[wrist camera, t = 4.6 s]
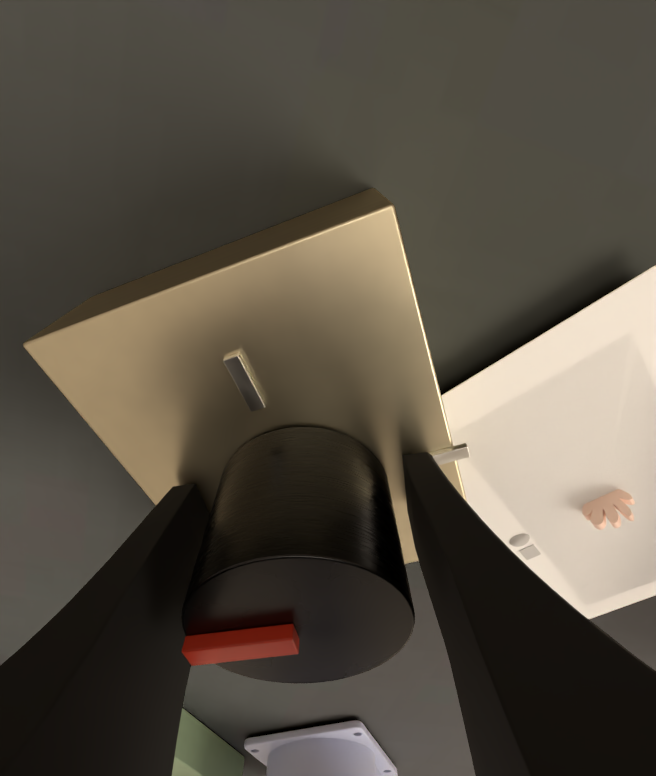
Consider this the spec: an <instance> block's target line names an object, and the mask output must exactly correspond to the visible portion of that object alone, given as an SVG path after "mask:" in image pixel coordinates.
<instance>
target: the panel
mask: <svg viewBox="0 0 656 776" xmlns="http://www.w3.org/2000/svg"><path fill="white" fill-rule="evenodd" d="M23 347H24V348H25V349H26V350H27V352H28V353H29V354H30V355H31V356H32V358H33V359H34V360H35V361H36V362H37V364H38V365H39V366H40V367H41V368H42V370H43V371H44V372H45V373H46V374H47V376H48V377H49V378H50V379H51V380H52V382H53V383H54V384H55V385H56V386H57V388H58V389H59V390H60V391H61V392H62V394H63V395H64V396H65V397H66V398H67V400H68V401H69V402H70V403H71V404H72V406H73V407H74V408H75V409H76V410H77V412H78V413H79V414H80V415H81V416H82V418H83V419H84V420H85V421H86V422H87V424H88V425H89V426H90V427H91V428H92V430H93V431H94V432H95V433H96V434H97V436H98V437H99V438H100V439H101V440H102V442H103V443H104V444H105V445H106V446H107V448H108V449H109V450H110V451H111V452H112V454H113V455H114V456H115V457H116V458H117V460H118V461H119V462H120V463H121V464H122V466H123V467H124V468H125V469H126V470H127V472H128V473H129V474H130V475H131V476H132V478H133V479H134V480H135V481H136V483H137V484H138V485H139V486H140V487H141V489H142V490H143V491H144V492H145V493H146V495H147V496H148V497H149V498H150V499H151V501H152V502H153V503H154V504H155V505H157V504H158V503H159V502H160V500H161V499H162V498H163V497H164V496H165V495H166V494H167V493H168V491H169V490H170V489H171V488H172V487H173V486H180V485H188V484H196V486H197V488H198V490H199V492H200V494H201V496H202V499H203V501H204V503H205V505H206V507H207V509H208V511H209V514H210V513H211V510H212V506H213V503H214V499H215V496H216V493H217V489H218V486H219V482H220V479H221V476H222V473H223V470H224V468H225V466H226V464H227V463H228V461H229V459H230V458H231V457H232V456H233V455H234V453H235V452H236V451H237V450H239V449H240V448H241V447H242V446H243V445H244V444H246V443H248V442H249V441H251V440H252V439H254V438H256V437H258V436H260V435H263V434H265V433H268V432H271V431H274V430H279V429H284V428H291V427H316V428H323V429H328V430H333V431H336V432H339V433H342V434H345V435H347V436H349V437H351V438H353V439H355V440H357V441H358V442H360V443H361V444H363V445H364V446H365V447H367V448H368V449H369V450H370V451H371V452H372V453H373V454H374V455H375V456H376V457H377V458H378V460H379V461H380V463H381V464H382V466H383V468H384V470H385V472H386V475H387V479H388V483H389V488H390V493H391V498H392V503H393V508H394V513H395V518H396V523H397V528H398V533H399V538H400V543H401V548H402V553H403V558H404V563H405V564H406V563H411V562H415V561H419V560H418V556H417V553H416V550H415V545H414V540H413V536H412V531H411V526H410V521H409V516H408V511H407V501H406V490H405V479H404V468H403V457H402V455H407V454H414V453H422V452H428V453H429V454H431V455H432V457H433V458H434V460H435V461H436V463H437V464H438V466H439V467H440V469H441V470H442V471H443V473H444V474H445V475H446V477H447V478H448V479H449V481H450V482H451V483H452V485H453V486H454V487H455V488H456V490H457V491H458V492H459V493H460V495H461V496H462V497H463V498H464V499H465V501H466V502H467V499H466V495H465V491H464V487H463V483H462V479H461V475H460V470H459V466H458V462H457V460H460V459H464V458H468V457H470V454H469V450H468V446H467V444H466V443H463V444H459V445H456V446H453V442H452V438H451V434H450V430H449V426H448V421H447V417H446V413H445V409H444V405H443V401H442V397H441V393H440V389H439V385H438V381H437V377H436V372H435V368H434V364H433V360H432V356H431V352H430V348H429V344H428V340H427V336H426V332H425V328H424V323H423V319H422V315H421V311H420V307H419V303H418V299H417V295H416V291H415V287H414V283H413V279H412V274H411V270H410V266H409V262H408V258H407V254H406V250H405V246H404V242H403V238H402V234H401V230H400V226H399V221H398V217H397V213H396V209H395V206H394V204H393V203H392V202H390V201H389V200H388V199H387V198H386V197H384V196H383V195H382V194H381V193H380V192H378V191H377V190H376V189H375V188H370V189H368V190H365V191H363V192H360V193H358V194H355V195H352V196H350V197H347V198H345V199H342V200H340V201H337V202H334V203H332V204H329V205H327V206H324V207H322V208H319V209H316V210H314V211H311V212H309V213H306V214H304V215H301V216H298V217H296V218H293V219H291V220H288V221H285V222H283V223H280V224H278V225H275V226H273V227H270V228H267V229H265V230H262V231H260V232H257V233H255V234H252V235H249V236H247V237H244V238H242V239H239V240H237V241H234V242H231V243H229V244H226V245H224V246H221V247H219V248H216V249H213V250H211V251H208V252H206V253H203V254H201V255H198V256H195V257H193V258H190V259H188V260H185V261H183V262H180V263H177V264H175V265H172V266H170V267H167V268H164V269H162V270H159V271H157V272H154V273H152V274H149V275H146V276H144V277H141V278H139V279H136V280H134V281H131V282H128V283H126V284H123V285H121V286H118V287H116V288H113V289H110V290H108V291H105V292H103V293H100V294H98V295H95V296H92V297H90V298H89V299H87V300H86V301H85V302H83V303H82V304H80V305H79V306H77V307H76V308H74V309H73V310H71V311H70V312H68V313H67V314H65V315H64V316H62V317H61V318H59V319H58V320H56V321H55V322H53V323H52V324H50V325H49V326H47V327H46V328H45V329H43V330H42V331H40V332H39V333H37V334H36V335H34V336H33V337H31V338H30V339H28V340H27V341H25V342H24V343H23Z"/></svg>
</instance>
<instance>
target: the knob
mask: <svg viewBox="0 0 656 776" xmlns="http://www.w3.org/2000/svg"><path fill="white" fill-rule="evenodd" d="M181 619H182V627H183V630H184V633H185V635H186V637H185V640H184V644H183V647H182V653H183V655H184V656H185V658H186V659H187V660H188V662H189V663H190V664H191V665H192V666H195V665H204V664H213V663H214V664H216V665H218V666H220V667H222V668H224V669H226V670H229V671H231V672H234V673H237V674H240V675H243V676H247V677H251V678H255V679H260V680H265V681H272V682H281V683H316V682H326V681H333V680H338V679H343V678H347V677H351V676H354V675H358V674H361V673H363V672H366V671H369V670H371V669H373V668H375V667H377V666H379V665H381V664H383V663H384V662H386V661H388V660H389V659H391V658H392V657H393V656H395V655H396V654H397V653H398V652H399V651H400V650H401V649H402V648H403V647H404V646H405V644H406V643H407V642H408V640H409V638H410V636H411V634H412V631H413V627H414V623H415V613H414V608H413V603H412V598H411V593H410V588H409V583H408V578H407V573H406V568H405V563H404V558H403V553H402V548H401V543H400V538H399V533H398V528H397V523H396V518H395V513H394V508H393V503H392V498H391V493H390V488H389V483H388V479H387V475H386V472H385V470H384V468H383V466H382V464H381V463H380V461H379V460H378V458H377V457H376V456H375V455H374V454H373V453H372V452H371V451H370V450H369V449H368V448H367V447H365V446H364V445H363V444H361V443H360V442H358V441H357V440H355V439H353V438H351V437H349V436H347V435H345V434H342V433H339V432H336V431H333V430H328V429H323V428H316V427H291V428H284V429H279V430H274V431H271V432H268V433H265V434H263V435H260V436H258V437H256V438H254V439H252V440H251V441H249V442H248V443H246V444H244V445H243V446H242V447H241V448H240V449H239V450H237V451H236V452H235V453H234V455H233V456H232V457H231V458H230V459H229V461H228V463H227V464H226V466H225V468H224V470H223V473H222V476H221V479H220V482H219V486H218V489H217V493H216V496H215V499H214V503H213V506H212V510H211V513H210V516H209V520H208V523H207V526H206V530H205V533H204V537H203V540H202V543H201V547H200V550H199V553H198V557H197V560H196V564H195V567H194V570H193V574H192V577H191V580H190V584H189V587H188V591H187V594H186V597H185V601H184V604H183V608H182V614H181Z"/></svg>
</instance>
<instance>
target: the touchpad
mask: <svg viewBox="0 0 656 776" xmlns="http://www.w3.org/2000/svg"><path fill="white" fill-rule="evenodd" d="M441 397H442V401H443V405H444V409H445V413H446V417H447V421H448V426H449V430H450V434H451V438H452V442H453V446H456V445H459V444H463V443H466V444H467V446H468V450H469V454H470V457H468V458H464V459H460V460H457V462H458V466H459V470H460V475H461V479H462V483H463V487H464V491H465V495H466V499H467V503H468V504H469V505H470V506H471V508H472V509H473V510H474V511H475V512H476V513H477V514H478V516H479V517H480V518H481V519H482V520H483V521H484V522H485V523H486V525H487V526H488V527H489V528H490V529H491V530H492V531H493V532H494V533H495V534H496V535H497V536H498V537H499V538H500V539H501V540H502V541H503V542H504V543H505V545H506V546H507V547H508V548H509V549H510V550H511V551H512V552H513V553H514V554H515V555H516V556H517V557H518V558H519V559H521V560H522V561H523V562H524V563H525V564H526V565H527V566H528V567H529V568H530V569H531V570H532V571H533V572H534V573H535V574H536V575H538V576H539V577H540V578H541V579H542V580H543V581H544V582H545V583H546V584H547V585H549V586H550V587H551V588H552V589H553V590H554V591H555V592H557V593H558V594H559V595H560V596H561V597H562V598H564V599H565V600H566V601H567V602H568V603H569V604H570V605H572V606H573V607H574V608H575V609H576V610H577V611H579V612H580V613H581V614H582V615H584V616H585V617H586V618H587V619H591V618H594V617H596V616H599V615H602V614H605V613H608V612H610V611H613V610H616V609H619V608H621V607H624V606H627V605H630V604H633V603H635V602H638V601H641V600H644V599H647V598H649V597H652V596H655V595H656V265H655V266H653V267H651V268H650V269H648V270H646V271H645V272H643V273H642V274H640V275H638V276H637V277H635V278H633V279H632V280H630V281H628V282H627V283H625V284H623V285H622V286H620V287H619V288H617V289H615V290H614V291H612V292H610V293H609V294H607V295H605V296H604V297H602V298H600V299H599V300H597V301H596V302H594V303H592V304H591V305H589V306H587V307H586V308H584V309H582V310H581V311H579V312H577V313H576V314H574V315H572V316H571V317H569V318H568V319H566V320H564V321H563V322H561V323H559V324H558V325H556V326H554V327H553V328H551V329H549V330H548V331H546V332H545V333H543V334H541V335H540V336H538V337H536V338H535V339H533V340H531V341H530V342H528V343H526V344H525V345H523V346H522V347H520V348H518V349H517V350H515V351H513V352H512V353H510V354H508V355H507V356H505V357H503V358H502V359H500V360H499V361H497V362H495V363H494V364H492V365H490V366H489V367H487V368H485V369H484V370H482V371H480V372H479V373H477V374H476V375H474V376H472V377H471V378H469V379H467V380H466V381H464V382H462V383H461V384H459V385H457V386H456V387H454V388H453V389H451V390H449V391H448V392H446V393H444V394H443V395H441Z"/></svg>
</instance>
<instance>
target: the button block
mask: <svg viewBox="0 0 656 776" xmlns="http://www.w3.org/2000/svg"><path fill="white" fill-rule="evenodd" d="M243 766H244V756H243V755H241V754H240V753H239V752H237V751H236V750H235V749H234V748H232V747H231V746H230V745H229V744H227V743H226V742H225V741H224V740H222V739H221V738H220V737H219V736H217V735H216V734H215V733H213V732H212V731H211V730H210V729H208V728H207V727H206V726H205V725H203V724H202V723H201V722H200V721H198V720H197V719H196V718H195V717H193V716H192V715H191V714H190V713H188V712H187V711H186V710H184V709H183V708H182V713H181V719H180V725H179V731H178V737H177V743H176V750H175V757H174V763H173V770H172V776H242V774H243Z"/></svg>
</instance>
